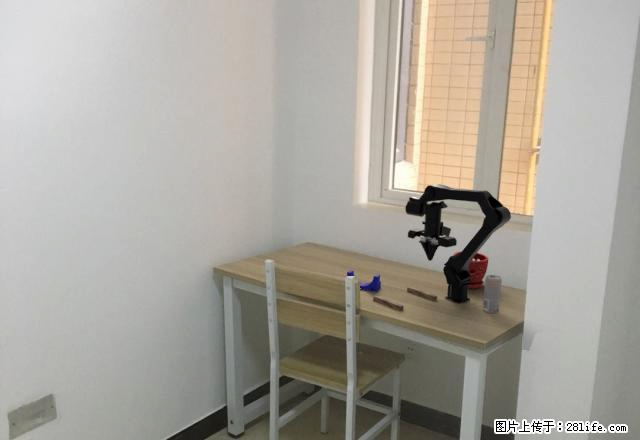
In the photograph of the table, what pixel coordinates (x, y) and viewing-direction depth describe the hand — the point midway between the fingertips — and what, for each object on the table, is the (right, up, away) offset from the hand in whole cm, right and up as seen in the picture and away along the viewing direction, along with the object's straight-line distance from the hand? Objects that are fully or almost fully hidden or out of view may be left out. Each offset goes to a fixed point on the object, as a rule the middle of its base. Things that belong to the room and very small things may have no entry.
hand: (430, 260), depth 218 cm
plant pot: (+17, -11, +11) cm, 23 cm away
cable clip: (-24, -11, +5) cm, 27 cm away
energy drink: (+18, -16, -16) cm, 29 cm away
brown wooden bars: (-10, -14, -7) cm, 19 cm away
